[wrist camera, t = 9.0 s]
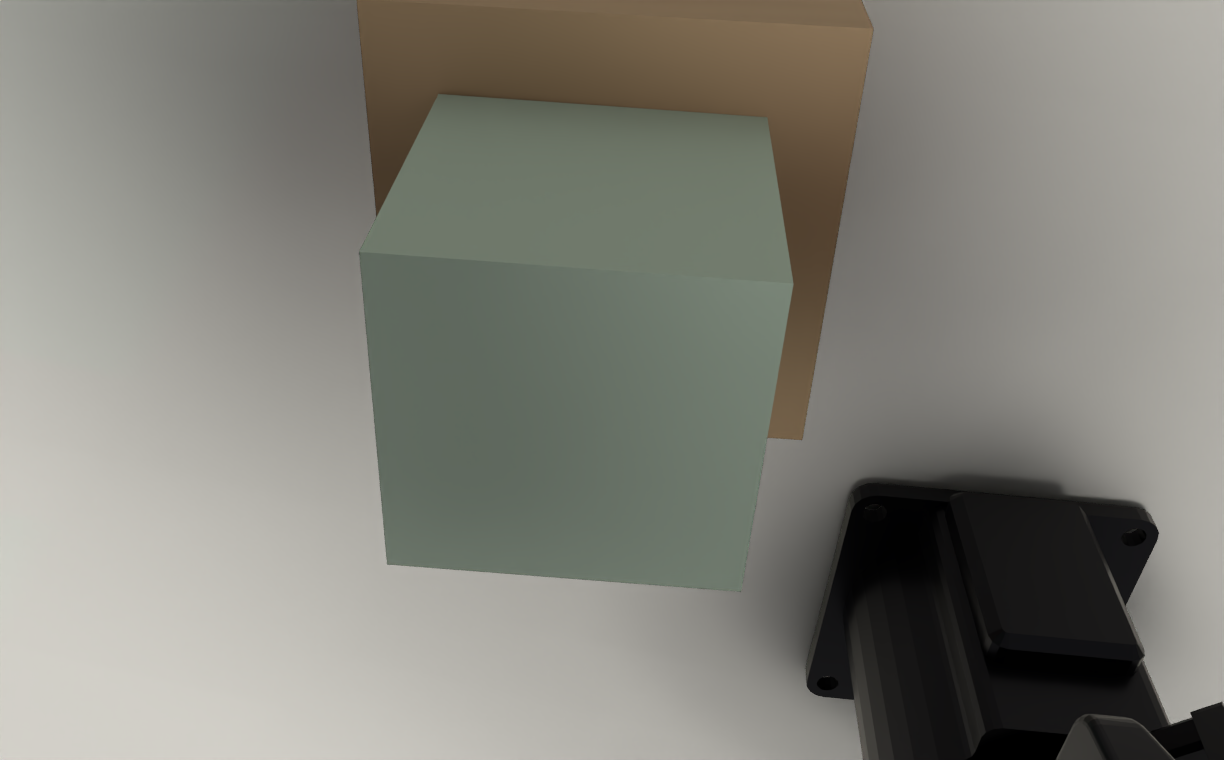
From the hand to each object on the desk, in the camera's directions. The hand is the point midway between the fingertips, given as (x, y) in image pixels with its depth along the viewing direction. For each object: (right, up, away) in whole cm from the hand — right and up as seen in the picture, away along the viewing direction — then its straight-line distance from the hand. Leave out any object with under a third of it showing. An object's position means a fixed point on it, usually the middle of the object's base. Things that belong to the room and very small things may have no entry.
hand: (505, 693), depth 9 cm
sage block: (+1, +4, +6) cm, 7 cm away
